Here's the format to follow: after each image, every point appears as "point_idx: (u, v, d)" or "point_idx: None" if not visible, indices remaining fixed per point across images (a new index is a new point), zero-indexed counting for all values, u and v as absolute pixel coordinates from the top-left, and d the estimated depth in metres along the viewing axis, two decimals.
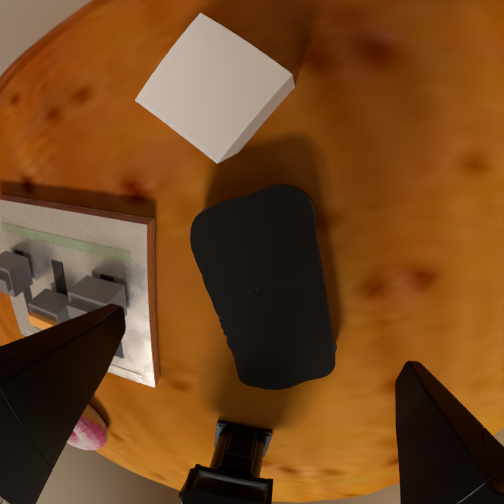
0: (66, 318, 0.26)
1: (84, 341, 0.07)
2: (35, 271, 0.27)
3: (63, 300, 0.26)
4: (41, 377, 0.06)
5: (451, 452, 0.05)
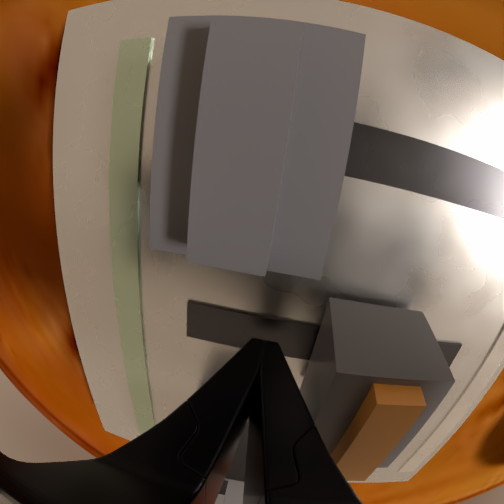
0: (381, 342, 0.07)
1: (252, 389, 0.07)
2: None
3: (323, 338, 0.08)
4: (228, 444, 0.05)
5: (258, 444, 0.05)
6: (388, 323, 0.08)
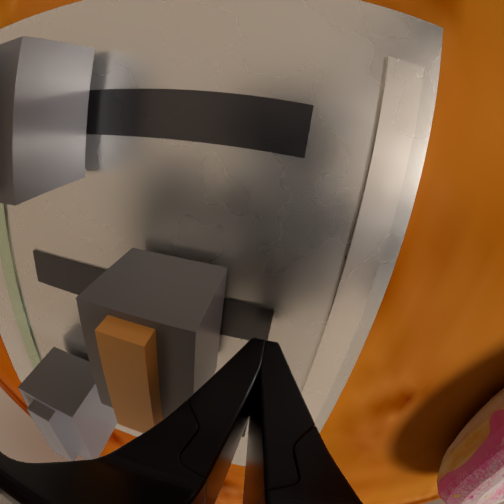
0: (141, 284, 0.08)
1: (252, 389, 0.07)
2: (84, 347, 0.12)
3: None
4: (228, 444, 0.05)
5: (259, 444, 0.05)
6: (169, 272, 0.08)
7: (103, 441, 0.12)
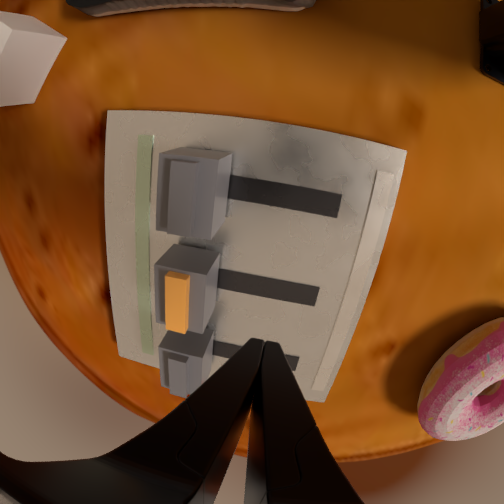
0: (182, 259, 0.18)
1: (251, 389, 0.07)
2: None
3: None
4: (226, 444, 0.05)
5: (260, 444, 0.05)
6: (193, 254, 0.19)
7: None
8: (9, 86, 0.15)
